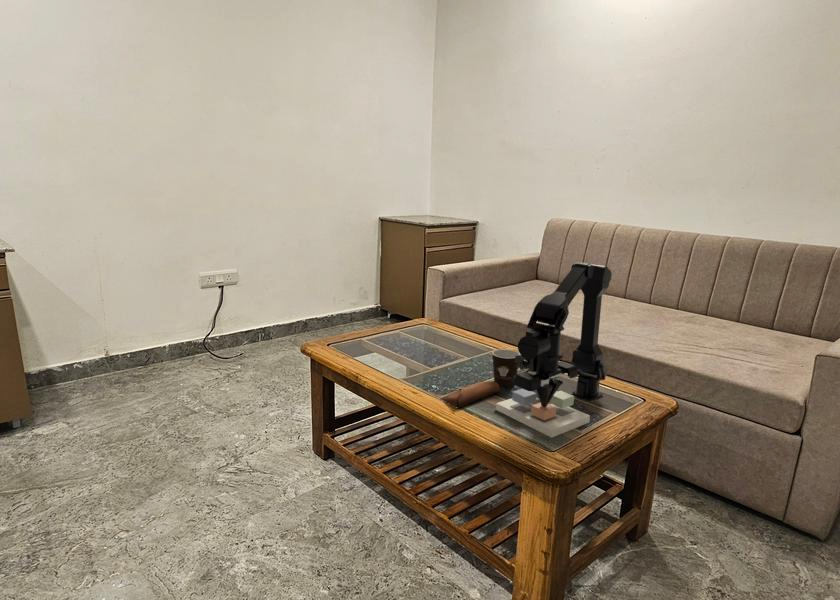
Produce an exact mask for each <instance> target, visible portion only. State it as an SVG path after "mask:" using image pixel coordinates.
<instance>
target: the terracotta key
mask: <svg viewBox="0 0 840 600" xmlns="http://www.w3.org/2000/svg"><path fill="white" fill-rule="evenodd" d="M531 414H532V415H534V416H536V417H538V418H540V419H542V420H546V419H549V418H552V417H555V416H556V407H555V406H552V405H550V404H548V405H547V406H546V407H543V406H542V405H541V402H540V403H537V404H534V405H532V408H531Z"/></svg>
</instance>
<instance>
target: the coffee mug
mask: <svg viewBox="0 0 840 600" xmlns="http://www.w3.org/2000/svg"><path fill="white" fill-rule="evenodd" d="M491 354H492V357H491V358H492V369H493V382H496V383H498V385H499V387H500V388H503V389H504V388H505V389H509V388H514V387H515V385H513V381H514V376H515V375H517V374H518V372H519V371H518V370H519V369H518V368H517V367H516V366H515V356H517V355H521V354H520V353H519V351H517V350H514V349H513V350H512V349H509V348H507V349H503V348H502V349H500V348H499V349H495V350H493V351H492V353H491ZM525 372H527V373H529V372H531V371H530V369H526V371H525Z"/></svg>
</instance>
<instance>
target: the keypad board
mask: <svg viewBox="0 0 840 600" xmlns="http://www.w3.org/2000/svg"><path fill="white" fill-rule="evenodd" d="M537 403H540V399H539V398H537V397H536V402H534V403H531V404H528V405H525V406H524V405H521V404H519V403H517V402H515V401H513V400H512V398H508V399H506V400H503V401H502V400H501V401H499V402H496V403H495V404H496V405H495V406H496V407H495V411H497V412H499V413H501V414H503V415H506V416H508V417H509V418H512V419H514V420H515V421H517V422H519V423H522V424H523V425H526V426H527V427H529V428H531V429H533V430H536V431H537V432H540V433H541V434H543V435H545V436H548V437H549V438H551V439H552V438H554V437H557V436H559V435H562V434H564V433H567V432H569V431H571V430H574V429H576V428H579V427H581V426H584V425H587V424H589V423H590V421H591V419H590V417H591V415H589V414H588V413H585V412H582V411H580V410H578V409H575V408H573V407H571V406H568V407H566V408H563V409H562V408H560V407H557V406H555V405H553V404H551V403H548V404H550V405H552V406H555V407H556V416H555V417H552V418H549V419H546V420H542V419H540V418H538V417H536V416H534V415H532V414H531V408H532V405H534V404H537Z"/></svg>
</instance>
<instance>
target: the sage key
mask: <svg viewBox="0 0 840 600" xmlns="http://www.w3.org/2000/svg"><path fill="white" fill-rule="evenodd" d="M574 400H575V395H574V394H570V393H567V392H565V391H564V390H559V391H558V390H557V391H556V392H555V394H554V395H553V397H552V399H551V400H550V402H549V403H551V404H553V405H555V406H557V407H560V408H562V409H563V408H566V407H568V406H569V407H571V406H573V405H574Z"/></svg>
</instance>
